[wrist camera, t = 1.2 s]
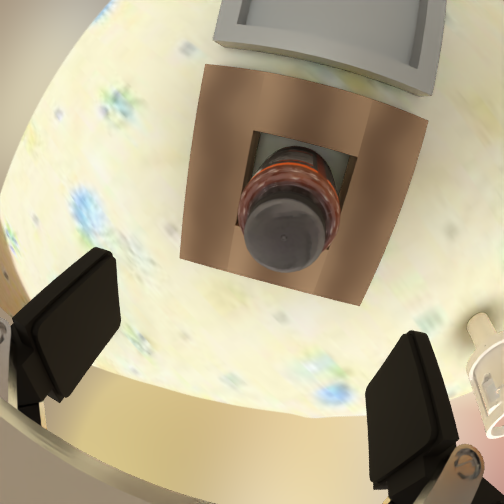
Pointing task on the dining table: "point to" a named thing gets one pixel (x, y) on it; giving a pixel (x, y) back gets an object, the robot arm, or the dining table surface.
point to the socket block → (310, 131)
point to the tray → (344, 35)
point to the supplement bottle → (289, 210)
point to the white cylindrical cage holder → (487, 372)
